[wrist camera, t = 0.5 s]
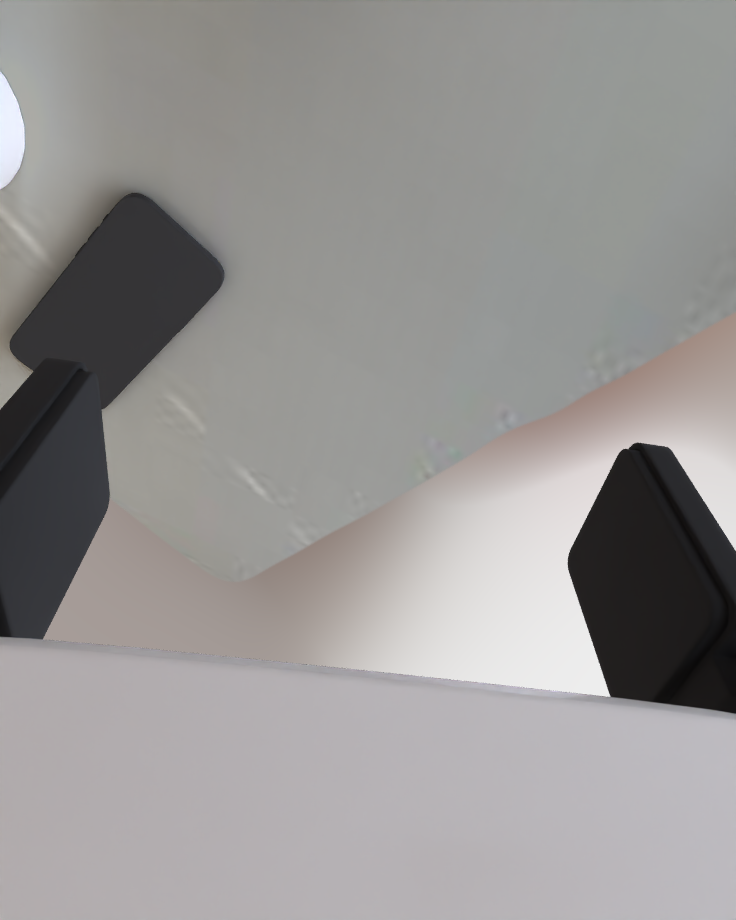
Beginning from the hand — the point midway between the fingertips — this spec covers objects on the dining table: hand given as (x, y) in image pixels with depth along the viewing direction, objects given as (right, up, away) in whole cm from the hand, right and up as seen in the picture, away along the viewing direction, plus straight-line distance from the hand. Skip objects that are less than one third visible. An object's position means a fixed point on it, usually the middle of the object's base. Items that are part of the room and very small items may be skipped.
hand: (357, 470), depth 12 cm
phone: (-16, +10, +30) cm, 36 cm away
